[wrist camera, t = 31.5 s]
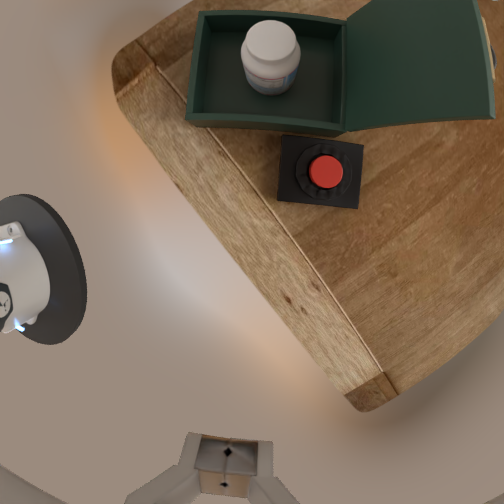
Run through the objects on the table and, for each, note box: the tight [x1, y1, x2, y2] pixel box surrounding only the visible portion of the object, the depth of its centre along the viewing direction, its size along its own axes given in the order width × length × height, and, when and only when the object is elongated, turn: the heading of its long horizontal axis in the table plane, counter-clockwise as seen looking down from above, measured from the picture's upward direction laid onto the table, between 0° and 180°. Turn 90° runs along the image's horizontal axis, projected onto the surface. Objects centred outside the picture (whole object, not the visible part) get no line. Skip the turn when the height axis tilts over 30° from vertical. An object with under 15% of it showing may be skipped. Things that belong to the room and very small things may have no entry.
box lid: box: [345, 0, 495, 132], centre depth 19 cm, size 18×15×5 cm
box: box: [185, 10, 347, 137], centre depth 31 cm, size 18×15×6 cm
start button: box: [309, 155, 343, 188], centre depth 32 cm, size 4×4×2 cm
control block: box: [277, 135, 364, 209], centre depth 34 cm, size 10×8×4 cm
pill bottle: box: [241, 20, 301, 96], centre depth 27 cm, size 6×6×11 cm
